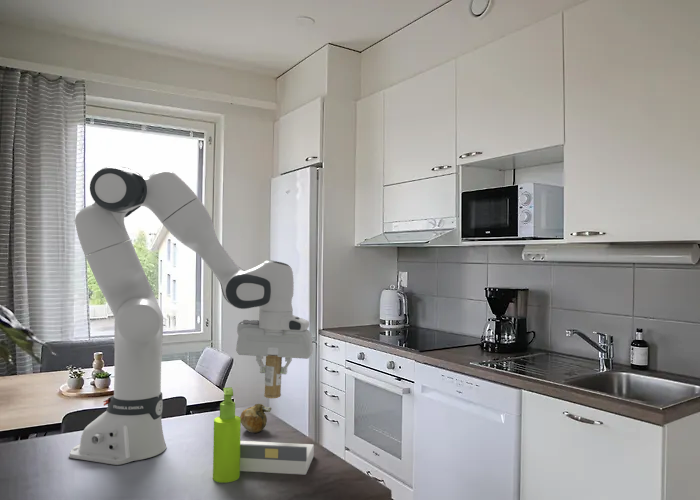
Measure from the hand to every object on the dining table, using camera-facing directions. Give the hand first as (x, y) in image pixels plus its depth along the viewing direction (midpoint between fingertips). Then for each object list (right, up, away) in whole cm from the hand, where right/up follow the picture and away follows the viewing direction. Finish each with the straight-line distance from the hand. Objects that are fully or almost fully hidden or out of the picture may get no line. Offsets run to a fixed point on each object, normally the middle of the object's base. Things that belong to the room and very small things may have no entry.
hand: (273, 373), depth 140 cm
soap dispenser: (-7, -19, -22) cm, 30 cm away
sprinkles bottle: (0, -6, 0) cm, 6 cm away
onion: (-7, -19, +10) cm, 22 cm away
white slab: (+1, -19, -13) cm, 23 cm away
